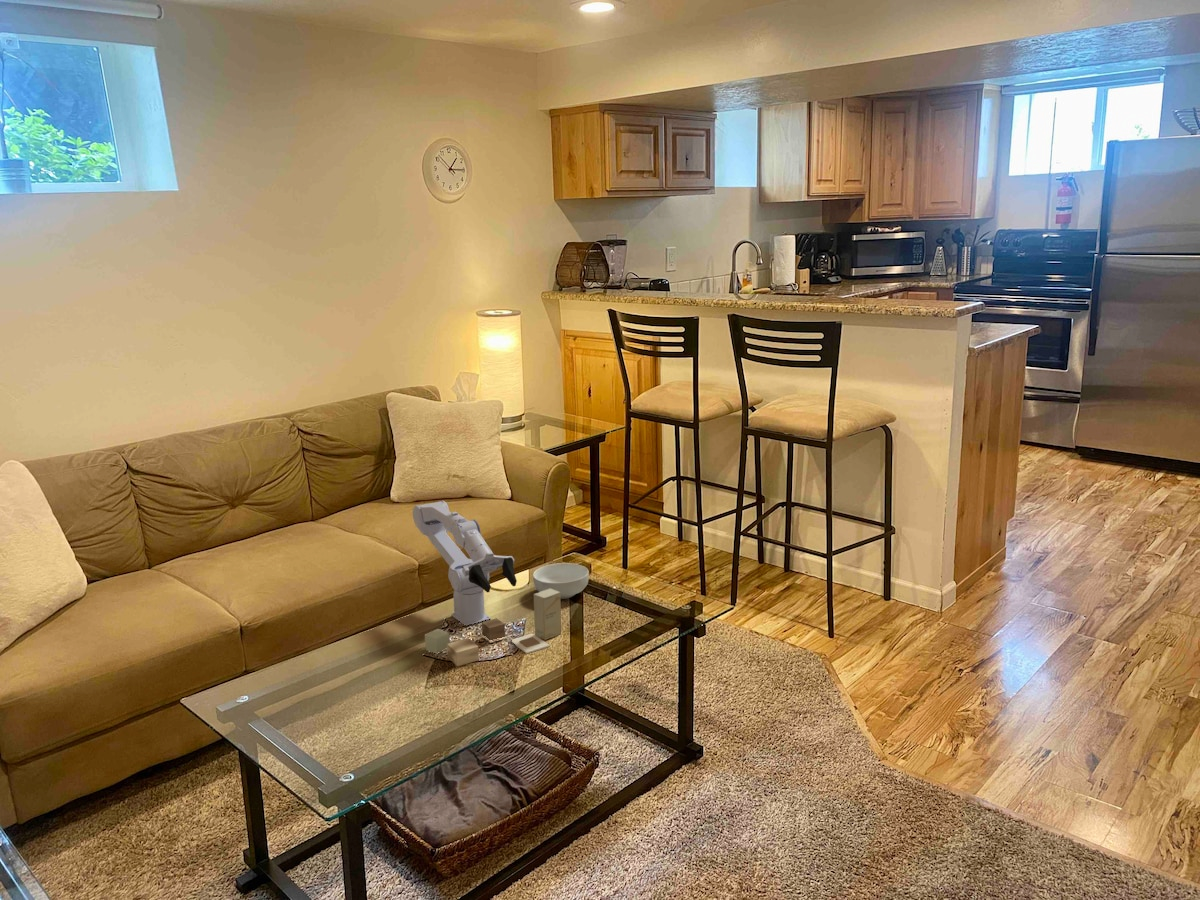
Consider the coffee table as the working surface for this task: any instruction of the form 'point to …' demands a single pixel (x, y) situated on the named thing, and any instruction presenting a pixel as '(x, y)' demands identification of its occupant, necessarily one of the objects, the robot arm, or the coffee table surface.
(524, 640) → the card
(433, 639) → the sage cube
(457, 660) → the maple base
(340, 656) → the coffee table surface
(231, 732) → the coffee table surface
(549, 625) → the skincare box
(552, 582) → the cereal bowl
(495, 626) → the walnut cube
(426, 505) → the robot arm
